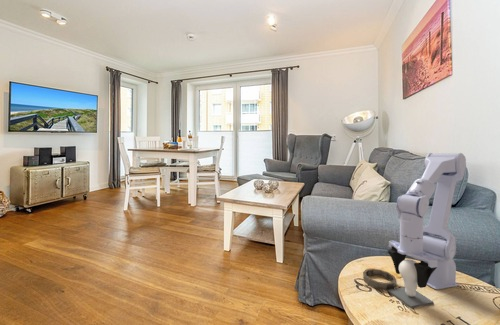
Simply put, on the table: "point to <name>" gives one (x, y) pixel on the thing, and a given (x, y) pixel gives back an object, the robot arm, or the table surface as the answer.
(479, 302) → the table surface
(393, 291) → the mat
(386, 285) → the collar
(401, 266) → the lightbulb
